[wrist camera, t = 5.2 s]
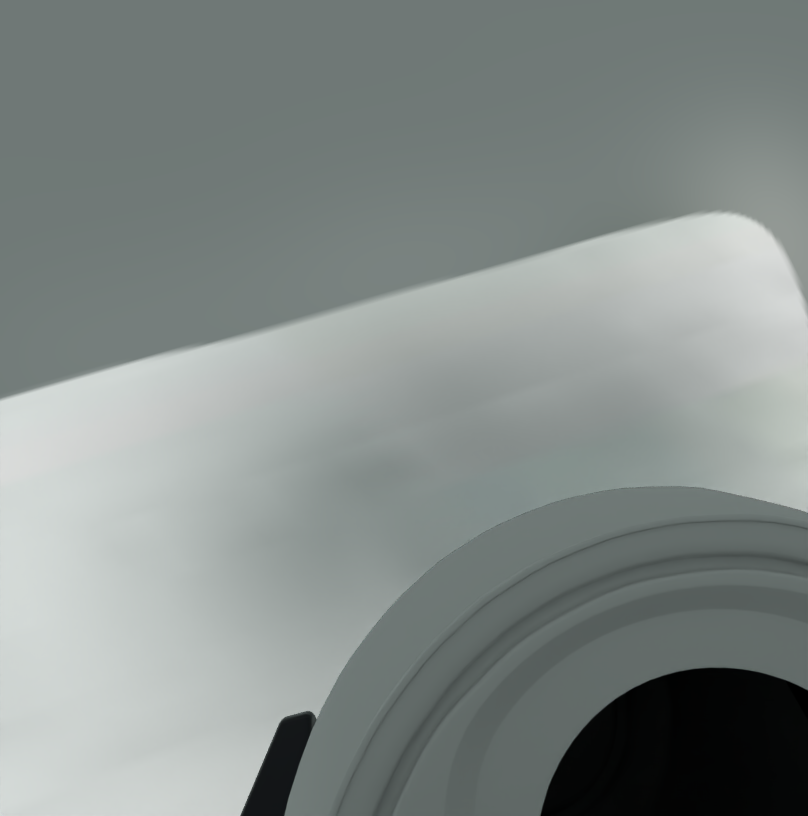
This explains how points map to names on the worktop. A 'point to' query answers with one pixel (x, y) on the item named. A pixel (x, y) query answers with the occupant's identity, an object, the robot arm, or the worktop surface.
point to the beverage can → (583, 670)
